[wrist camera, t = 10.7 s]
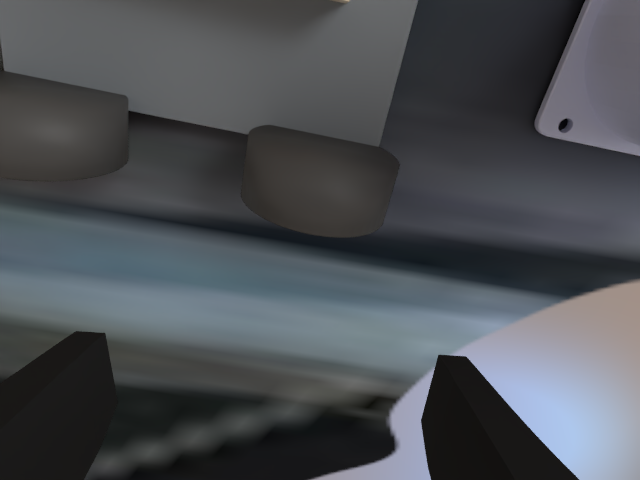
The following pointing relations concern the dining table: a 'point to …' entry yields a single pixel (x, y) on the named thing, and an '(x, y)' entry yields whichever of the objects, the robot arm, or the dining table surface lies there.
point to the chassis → (213, 94)
